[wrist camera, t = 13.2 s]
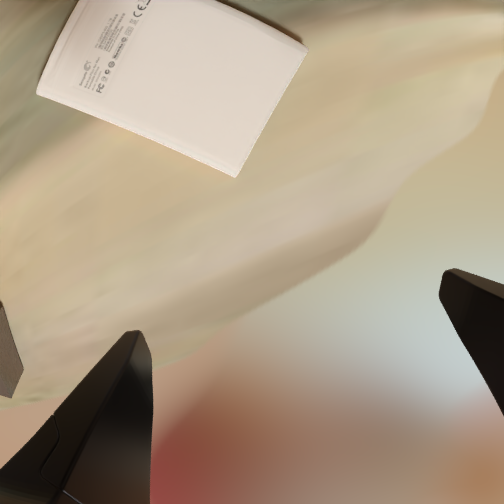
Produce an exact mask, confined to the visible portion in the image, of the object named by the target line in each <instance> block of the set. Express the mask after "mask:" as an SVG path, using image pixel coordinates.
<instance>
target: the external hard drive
mask: <svg viewBox="0 0 504 504" xmlns="http://www.w3.org/2000/svg"><path fill="white" fill-rule="evenodd" d="M308 51H309V48H308V47H306V46H305V45H303V44H301V43H300V42H298V41H296V40H294V39H293V38H291V37H289V36H288V35H286V34H284V33H282V32H280V31H278V30H276V29H275V28H273V27H271V26H269V25H267V24H265V23H263V22H261V21H259V20H257V19H255V18H253V17H251V16H249V15H247V14H245V13H243V12H241V11H239V10H236V9H234V8H232V7H230V6H227V5H225V4H223V3H221V2H218V1H216V0H79V1H78V3H77V5H76V7H75V8H74V10H73V12H72V14H71V15H70V17H69V19H68V21H67V23H66V25H65V27H64V28H63V30H62V32H61V34H60V36H59V38H58V40H57V42H56V44H55V47H54V49H53V51H52V53H51V55H50V57H49V60H48V62H47V64H46V66H45V69H44V71H43V74H42V76H41V79H40V81H39V83H38V87H37V91H36V94H38V95H40V96H43V97H46V98H49V99H52V100H54V101H57V102H59V103H62V104H64V105H67V106H70V107H72V108H75V109H77V110H80V111H82V112H85V113H87V114H90V115H93V116H95V117H97V118H100V119H102V120H105V121H108V122H110V123H112V124H115V125H117V126H120V127H122V128H124V129H127V130H129V131H132V132H134V133H136V134H139V135H141V136H144V137H146V138H148V139H151V140H153V141H155V142H157V143H160V144H162V145H164V146H166V147H169V148H171V149H173V150H175V151H178V152H180V153H182V154H184V155H187V156H189V157H191V158H193V159H195V160H198V161H200V162H202V163H204V164H207V165H209V166H211V167H213V168H215V169H217V170H219V171H221V172H224V173H226V174H228V175H230V176H232V177H237V175H238V173H239V172H240V170H241V168H242V166H243V164H244V163H245V161H246V159H247V157H248V155H249V153H250V151H251V150H252V148H253V146H254V144H255V143H256V141H257V139H258V137H259V135H260V133H261V132H262V130H263V128H264V126H265V125H266V123H267V121H268V119H269V117H270V116H271V114H272V112H273V110H274V109H275V107H276V105H277V103H278V102H279V100H280V99H281V97H282V95H283V93H284V91H285V90H286V88H287V86H288V85H289V83H290V82H291V80H292V78H293V76H294V75H295V73H296V71H297V70H298V68H299V66H300V64H301V63H302V61H303V59H304V58H305V56H306V54H307V53H308Z"/></svg>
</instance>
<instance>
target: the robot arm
mask: <svg viewBox="0 0 504 504" xmlns="http://www.w3.org/2000/svg"><path fill="white" fill-rule="evenodd" d="M439 299H440V301H441V303H442V305H443V307H444V309H445V311H446V312H447V314H448V316H449V318H450V320H451V322H452V324H453V326H454V328H455V330H456V332H457V334H458V336H459V337H460V339H461V341H462V343H463V344H464V346H465V347H466V349H467V351H468V352H469V354H470V356H471V357H472V359H473V360H474V362H475V364H476V366H477V368H478V369H479V371H480V373H481V374H482V376H483V378H484V380H485V381H486V383H487V385H488V387H489V389H490V391H491V393H492V394H493V396H494V398H495V400H496V402H497V404H498V406H499V408H500V409H501V412H502V414H503V415H504V284H501V283H498V282H495V281H492V280H489V279H486V278H483V277H480V276H477V275H474V274H471V273H468V272H465V271H462V270H459V269H455V268H453V269H449V270H446V271H445V272H444V273H443V276H442V281H441V285H440V290H439ZM152 423H153V385H152V358H151V353H150V350H149V348H148V345H147V343H146V341H145V338H144V336H143V333H142V332H141V331H140V330H134V331H127V332H125V333H124V334H123V335H122V336H121V338H120V339H119V340H118V341H117V342H116V343H115V344H114V345H113V346H112V347H111V349H110V350H109V351H108V352H107V353H106V354H105V355H104V356H103V357H102V358H101V360H100V361H99V362H98V363H97V364H96V365H95V366H94V367H93V368H92V370H91V371H90V372H89V373H88V374H87V375H86V376H85V377H84V379H83V380H82V381H81V382H80V383H79V384H78V385H77V387H76V388H75V389H74V390H73V391H72V392H71V393H70V395H69V396H68V397H67V398H66V399H65V400H64V402H63V403H62V404H61V405H60V406H59V407H58V409H57V410H56V411H55V412H54V415H51V416H50V418H49V419H48V420H47V421H46V422H45V423H44V425H43V426H42V427H41V428H40V429H39V430H38V431H37V432H36V434H35V435H34V436H33V437H32V438H31V439H30V440H29V441H28V442H27V443H26V444H25V445H24V446H23V447H22V448H21V449H20V450H19V451H18V452H17V453H16V454H15V455H14V456H13V457H12V458H11V459H10V460H9V461H8V462H7V463H6V464H5V465H4V466H3V467H2V468H1V469H0V504H150V464H151V441H152Z"/></svg>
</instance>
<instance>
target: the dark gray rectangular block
mask: <svg viewBox="0 0 504 504" xmlns="http://www.w3.org/2000/svg"><path fill="white" fill-rule="evenodd" d="M23 370H24V369H23V366H22V364H21V361H20V358H19V355H18V353H17V350H16V347H15V344H14V341H13V338H12V335H11V332H10V329H9V325H8V322H7V319H6V315H5V312H4V308H3V306H1V305H0V395H2V396H5V397H8V398H12V396H13V393H14V391H15V388H16V386H17V384H18V382H19V379H20V377H21V375H22V373H23Z"/></svg>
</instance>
